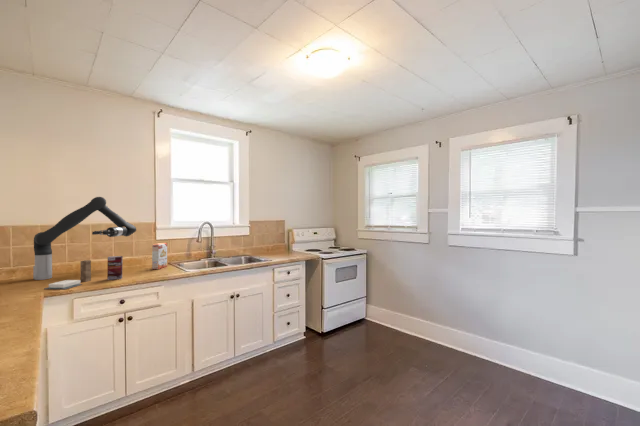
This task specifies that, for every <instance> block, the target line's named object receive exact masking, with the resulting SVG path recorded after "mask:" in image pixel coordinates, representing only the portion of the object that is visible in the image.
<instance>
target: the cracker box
mask: <svg viewBox="0 0 640 426" xmlns="http://www.w3.org/2000/svg"><path fill="white" fill-rule="evenodd" d="M151 251H152V252H151V270H160V269H164V268H167V267H168V243H167V242H160V243H159V242H158V243H153V244H152V245H151Z"/></svg>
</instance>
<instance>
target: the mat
mask: <svg viewBox="0 0 640 426" xmlns="http://www.w3.org/2000/svg"><path fill="white" fill-rule="evenodd" d="M79 286H80V287H81V286H83V283H82V284H81V283H80V284H78V285H74V286H70V287H66V288H50V287H49V286H48V287H45V288H44V290H69V289H73V288H76V287H79Z"/></svg>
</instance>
